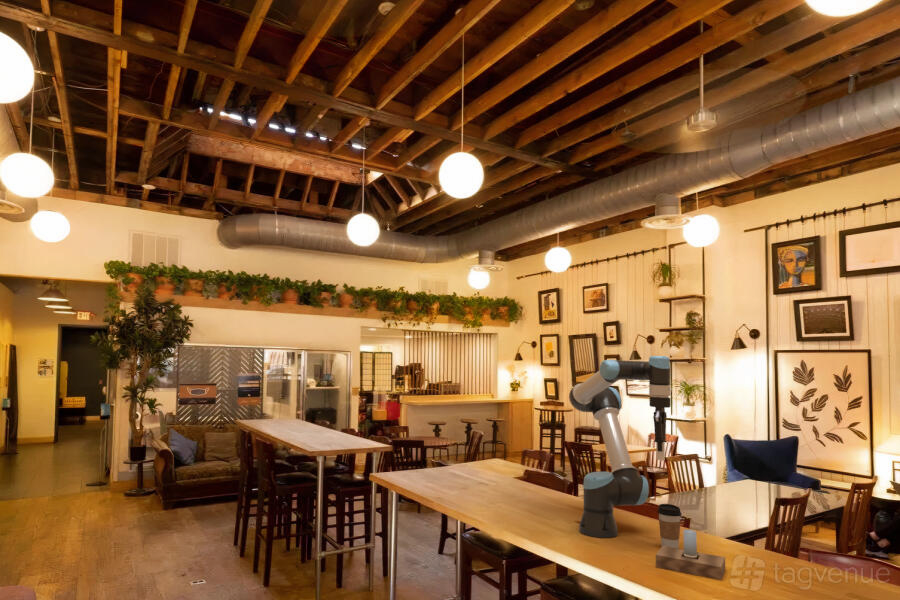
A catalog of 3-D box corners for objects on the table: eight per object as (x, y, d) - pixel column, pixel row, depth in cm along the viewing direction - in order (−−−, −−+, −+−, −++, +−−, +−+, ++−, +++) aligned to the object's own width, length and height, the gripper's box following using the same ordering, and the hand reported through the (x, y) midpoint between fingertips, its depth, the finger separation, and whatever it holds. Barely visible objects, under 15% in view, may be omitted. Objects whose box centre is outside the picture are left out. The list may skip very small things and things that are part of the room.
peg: (683, 568, 188) (682, 531, 190) (685, 565, 192) (684, 528, 193) (696, 571, 186) (695, 533, 187) (698, 567, 189) (697, 530, 191)
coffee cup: (676, 544, 215) (675, 503, 217) (686, 551, 207) (685, 509, 209) (654, 543, 215) (654, 503, 217) (663, 551, 207) (663, 508, 208)
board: (655, 567, 189) (655, 554, 189) (662, 557, 199) (662, 545, 199) (721, 580, 179) (721, 567, 179) (725, 569, 189) (725, 557, 189)
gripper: (667, 397, 207) (667, 463, 204) (673, 396, 218) (674, 459, 215) (645, 396, 211) (646, 461, 208) (653, 395, 222) (653, 457, 219)
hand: (660, 460), depth 212 cm, fingers closed
